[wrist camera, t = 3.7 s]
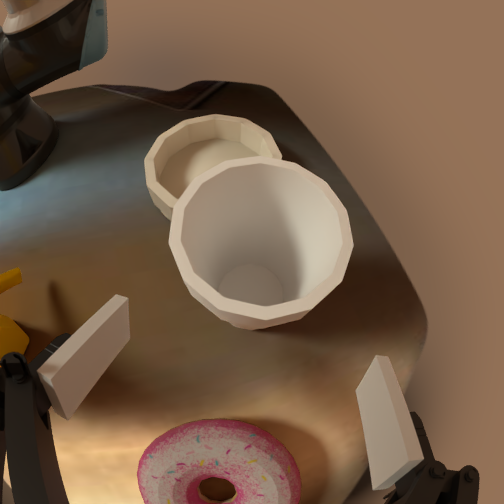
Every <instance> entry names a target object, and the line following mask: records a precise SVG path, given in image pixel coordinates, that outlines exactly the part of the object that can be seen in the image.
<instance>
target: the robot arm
mask: <svg viewBox="0 0 504 504" xmlns="http://www.w3.org/2000/svg"><path fill="white" fill-rule="evenodd" d="M2 2H3V4H4V6H5V8H6V9H7V12H8V15H7V17H6V19H5V22H4V24H3V28H2V27H1V26H0V190H8V189H10V188H13V187H15V186H17V185H18V184H20V183H21V182H23V181H24V180H25V179H27V178H28V177H29V176H30V175H31V174H33V173H34V172H35V171H36V170H37V169H38V168H39V167H40V165H41V164H42V163H43V162H44V161H45V160H46V158H47V157H48V156H49V154H50V153H51V151H52V150H53V148H54V146H55V144H56V142H57V139H58V134H59V130H58V127H57V125H56V123H55V121H54V119H53V118H52V117H51V116H50V115H48V114H47V113H46V112H45V111H44V110H43V109H42V108H41V107H39V106H38V105H37V104H36V103H35V102H33V100H32V99H31V97H30V95H29V94H30V93H31V92H33V91H35V90H37V89H38V88H41V87H43V86H44V85H46V84H49V83H50V82H52V81H54V80H57V79H59V78H61V77H63V76H65V75H67V74H70V73H72V72H75V71H77V70H81V69H82V68H83V67H85V66H87V65H90V64H92V63H94V62H96V61H99V60H100V59H102V58H103V57H104V55H105V54H106V52H107V49H108V33H107V9H106V0H2ZM129 339H130V330H129V305H128V298H126V297H123V296H120V295H117V294H116V295H115V296H114V297H113V298H111V299H110V300H109V301H108V302H107V303H106V304H105V305H104V306H103V307H102V308H101V309H99V310H98V311H97V312H96V313H95V314H94V315H93V316H92V317H91V318H90V319H89V320H88V321H87V322H86V323H84V324H83V325H82V326H81V327H80V328H79V329H78V330H77V331H76V332H75V333H74V334H73V335H70V334H68V333H64V334H62V335H60V336H58V337H56V338H55V339H54V340H53V341H52V342H51V344H49V345H48V346H47V347H46V348H45V349H44V350H43V351H42V352H41V353H40V354H39V355H37V356H36V357H35V358H34V359H33V360H32V361H31V362H30V363H29V364H27V361H26V358H25V357H24V356H23V354H21V353H19V352H10V353H7V354H5V355H4V356H3V357H2V358H1V360H0V366H1V367H0V504H2V489H3V474H4V464H5V456H6V451H7V461H8V469H9V476H10V482H11V488H12V493H13V498H14V502H15V504H69V501H68V498H67V495H66V492H65V488H64V485H63V481H62V478H61V474H60V470H59V465H58V461H57V456H56V452H55V446H54V441H53V435H52V429H51V422H50V414H49V411H48V409H49V408H50V406H51V405H52V407H53V409H54V411H55V413H57V414H58V415H60V416H61V417H63V418H65V419H66V420H69V419H70V418H71V416H72V415H73V413H74V412H75V411H76V409H77V408H78V407H79V405H80V404H81V402H82V401H83V400H84V398H85V397H86V396H87V394H88V393H89V392H90V390H91V389H92V388H93V386H94V385H95V384H96V382H97V381H98V380H99V378H100V377H101V376H102V374H103V373H104V372H105V370H106V369H107V368H108V366H109V365H110V364H111V363H112V361H113V360H114V359H115V357H116V356H117V355H118V353H119V352H120V351H121V350H122V348H123V347H124V346H125V345H126V343H127V342H128V341H129ZM355 391H356V395H357V400H358V405H359V410H360V415H361V420H362V425H363V431H364V436H365V442H366V448H367V454H368V460H369V466H370V472H371V480H372V487H373V490H379V489H388V488H389V487H390V486H391V485H393V484H394V483H395V486H396V489H394V490H393V491H392V492H390V493H389V494H388V495H386V496H385V497H384V498H383V499H385V498H387V497H388V499H387V500H386V502H385V503H384V504H477V501H478V490H479V473H478V471H477V469H476V468H475V467H473V466H471V465H467V466H465V467H463V468H462V469H461V470H460V471H453V470H447V469H446V467H445V465H444V464H442V463H441V462H439V461H435V459H434V456H433V453H432V450H431V447H430V444H429V441H428V438H427V436H426V432H425V430H424V426H423V423H422V421H421V419H420V417H419V416H418V415H417V414H416V413H415V412H409V410H408V407H407V405H406V402H405V399H404V396H403V393H402V391H401V388H400V385H399V383H398V380H397V378H396V375H395V373H394V370H393V367H392V365H391V362H390V360H389V358H388V356H380V355H376V356H375V358H374V360H373V361H372V363H371V365H370V367H369V368H368V370H367V372H366V374H365V375H364V377H363V379H362V381H361V382H360V384H359V386H358V387H357V389H356V390H355Z"/></svg>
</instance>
